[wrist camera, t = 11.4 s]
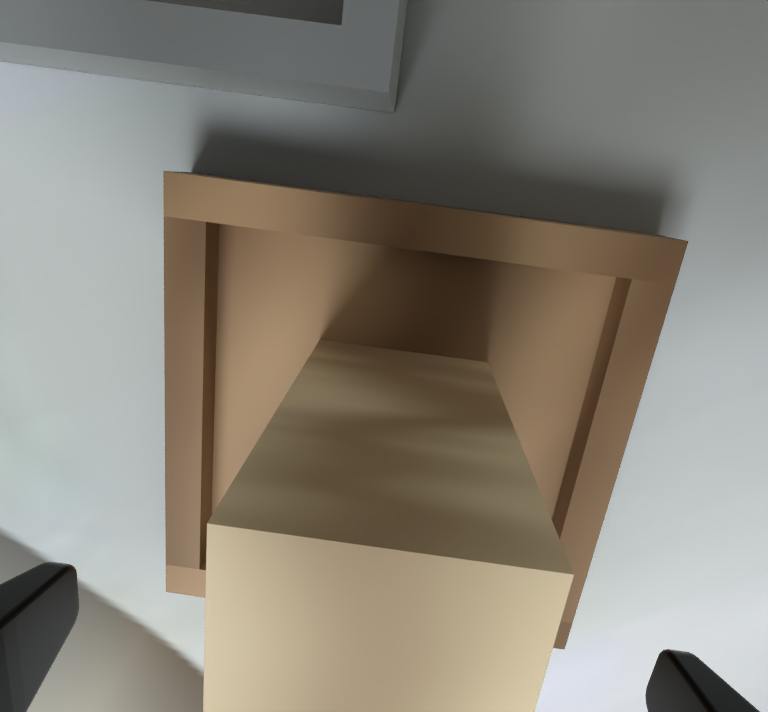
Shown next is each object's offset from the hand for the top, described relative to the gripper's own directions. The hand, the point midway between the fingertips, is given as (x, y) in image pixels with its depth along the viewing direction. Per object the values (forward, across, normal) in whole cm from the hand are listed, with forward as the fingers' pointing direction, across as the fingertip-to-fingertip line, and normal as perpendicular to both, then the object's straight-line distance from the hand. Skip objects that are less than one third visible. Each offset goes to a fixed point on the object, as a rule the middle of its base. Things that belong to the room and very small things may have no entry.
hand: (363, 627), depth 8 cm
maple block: (+7, 0, 0) cm, 7 cm away
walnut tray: (+8, 0, 0) cm, 8 cm away
